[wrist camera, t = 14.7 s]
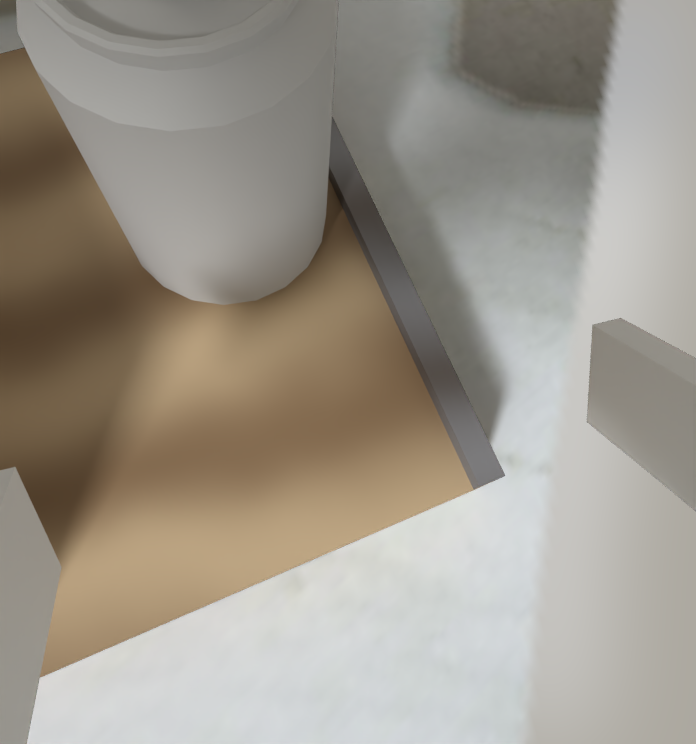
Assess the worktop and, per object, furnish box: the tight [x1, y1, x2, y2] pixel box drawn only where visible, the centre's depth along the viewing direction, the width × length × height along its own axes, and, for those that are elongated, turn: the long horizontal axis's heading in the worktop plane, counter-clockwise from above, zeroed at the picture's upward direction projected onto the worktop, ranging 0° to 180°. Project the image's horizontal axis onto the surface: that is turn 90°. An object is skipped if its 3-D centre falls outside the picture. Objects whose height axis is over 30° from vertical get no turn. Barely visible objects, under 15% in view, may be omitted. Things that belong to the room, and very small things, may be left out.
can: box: [16, 0, 338, 305], centre depth 19 cm, size 8×8×12 cm
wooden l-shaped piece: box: [0, 48, 505, 677], centre depth 20 cm, size 24×20×14 cm
